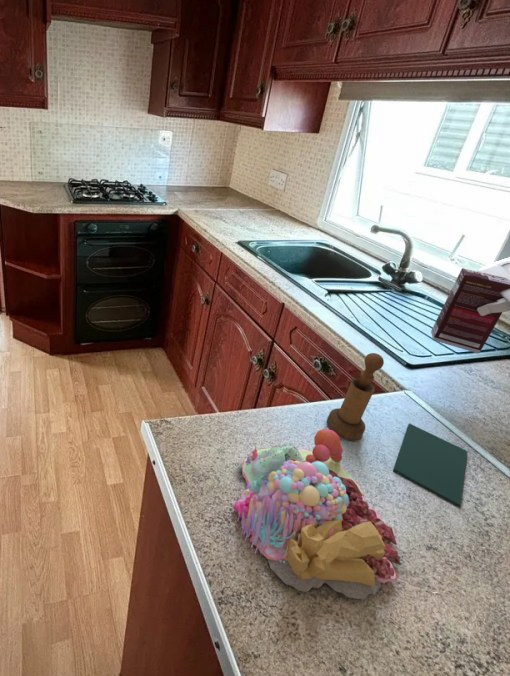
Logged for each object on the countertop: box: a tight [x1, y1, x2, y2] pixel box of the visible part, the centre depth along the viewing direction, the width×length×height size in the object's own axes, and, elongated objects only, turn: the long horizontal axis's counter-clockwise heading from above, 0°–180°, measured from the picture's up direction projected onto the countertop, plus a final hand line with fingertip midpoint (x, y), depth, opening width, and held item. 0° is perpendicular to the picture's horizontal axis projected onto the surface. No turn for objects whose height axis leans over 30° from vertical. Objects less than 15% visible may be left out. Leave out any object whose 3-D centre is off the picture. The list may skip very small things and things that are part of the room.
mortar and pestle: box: [326, 352, 385, 442], centre depth 77 cm, size 7×6×18 cm
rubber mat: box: [392, 423, 468, 508], centre depth 75 cm, size 16×10×1 cm, turn 139°
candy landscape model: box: [233, 428, 401, 601], centre depth 61 cm, size 25×24×9 cm
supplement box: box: [430, 267, 510, 354], centre depth 84 cm, size 9×5×16 cm, turn 61°
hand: (471, 304), depth 84 cm, fingers closed on supplement box, 5 cm apart
